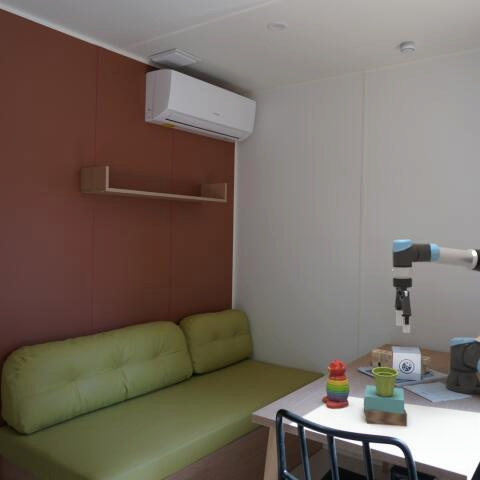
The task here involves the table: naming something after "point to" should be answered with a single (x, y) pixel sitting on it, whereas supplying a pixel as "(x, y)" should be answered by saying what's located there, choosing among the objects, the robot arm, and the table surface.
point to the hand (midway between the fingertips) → (402, 329)
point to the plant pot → (385, 380)
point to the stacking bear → (337, 386)
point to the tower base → (385, 417)
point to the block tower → (386, 360)
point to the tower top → (384, 401)
